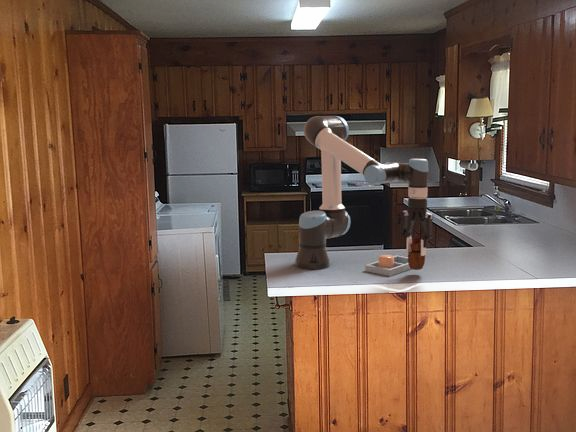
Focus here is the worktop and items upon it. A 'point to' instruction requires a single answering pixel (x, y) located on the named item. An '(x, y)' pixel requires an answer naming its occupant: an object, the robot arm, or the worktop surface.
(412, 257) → the wooden figurine
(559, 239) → the worktop surface
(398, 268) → the gray tray
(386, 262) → the orange square block
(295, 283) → the worktop surface
